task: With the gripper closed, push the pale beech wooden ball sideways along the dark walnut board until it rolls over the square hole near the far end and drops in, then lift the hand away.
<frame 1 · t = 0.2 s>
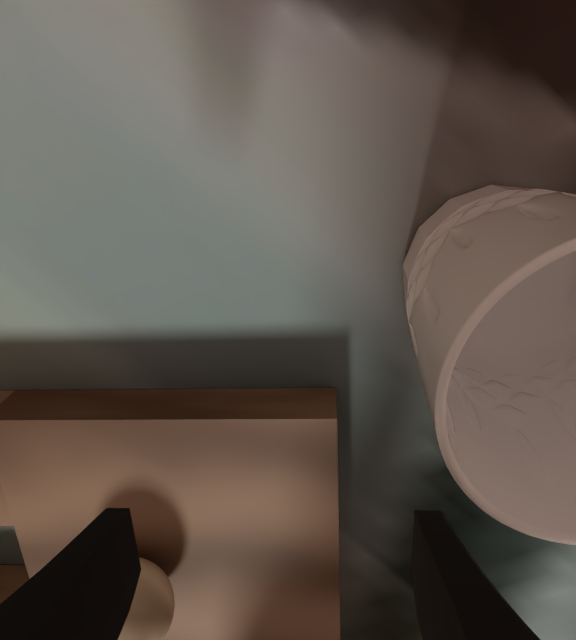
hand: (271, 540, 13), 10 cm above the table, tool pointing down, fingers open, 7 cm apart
white cup: (487, 270, 21), on the table
ball: (126, 608, 22), point 4 cm above the table, touching board
board: (118, 529, 27), on the table
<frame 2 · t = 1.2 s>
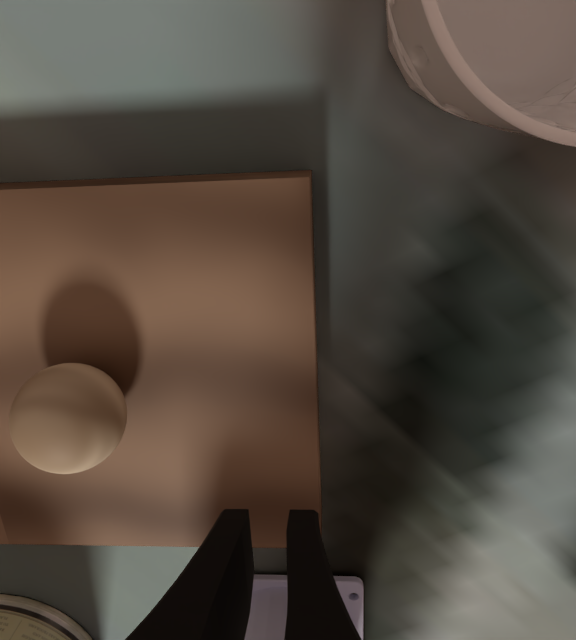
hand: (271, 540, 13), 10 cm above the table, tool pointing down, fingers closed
white cup: (483, 9, 18), on the table
ball: (70, 417, 19), point 4 cm above the table, touching board
board: (72, 364, 24), on the table
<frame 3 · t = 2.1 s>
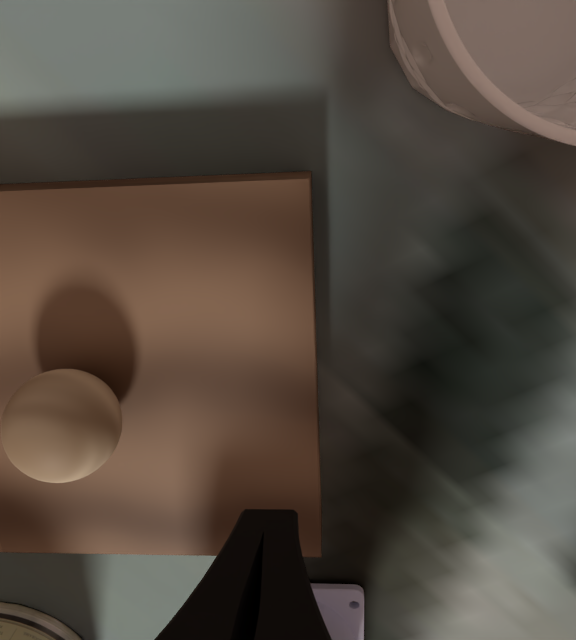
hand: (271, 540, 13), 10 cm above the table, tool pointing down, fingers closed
white cup: (487, 6, 17), on the table
ball: (64, 424, 19), point 4 cm above the table, touching board
board: (67, 369, 23), on the table
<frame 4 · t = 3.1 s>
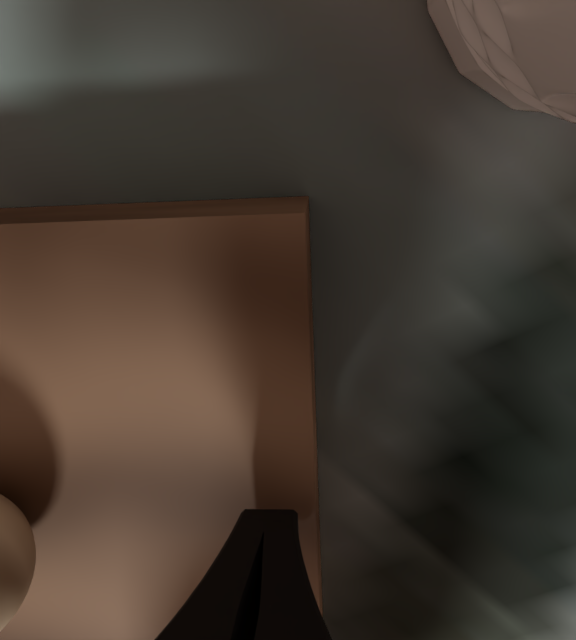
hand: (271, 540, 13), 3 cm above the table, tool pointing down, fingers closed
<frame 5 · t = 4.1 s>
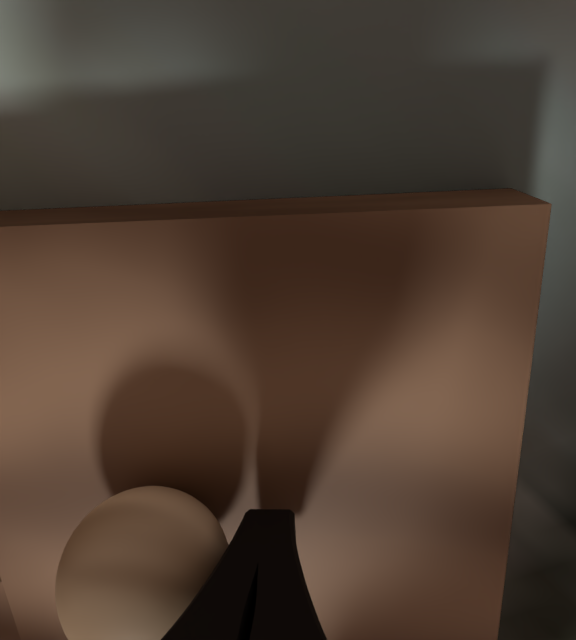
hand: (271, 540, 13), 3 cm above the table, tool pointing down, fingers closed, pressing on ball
ball: (147, 574, 13), point 4 cm above the table, touching board, gripper
board: (131, 459, 17), on the table
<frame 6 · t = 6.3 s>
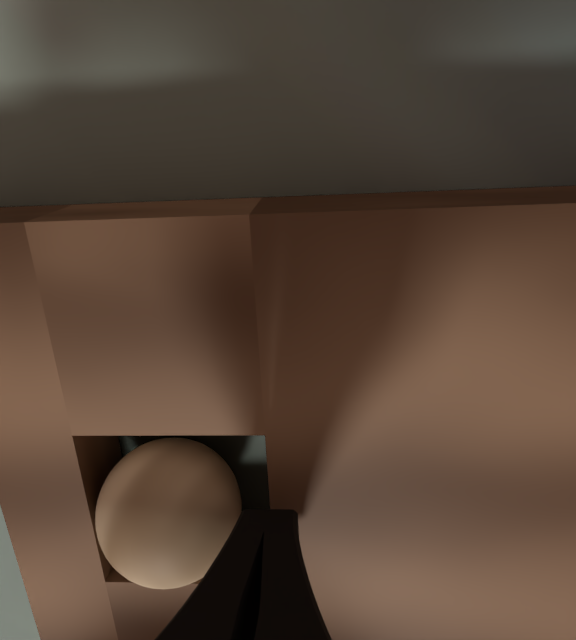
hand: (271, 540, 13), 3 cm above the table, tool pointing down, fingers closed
ball: (170, 509, 15), point 2 cm above the table, tilted 64°
board: (392, 458, 16), on the table
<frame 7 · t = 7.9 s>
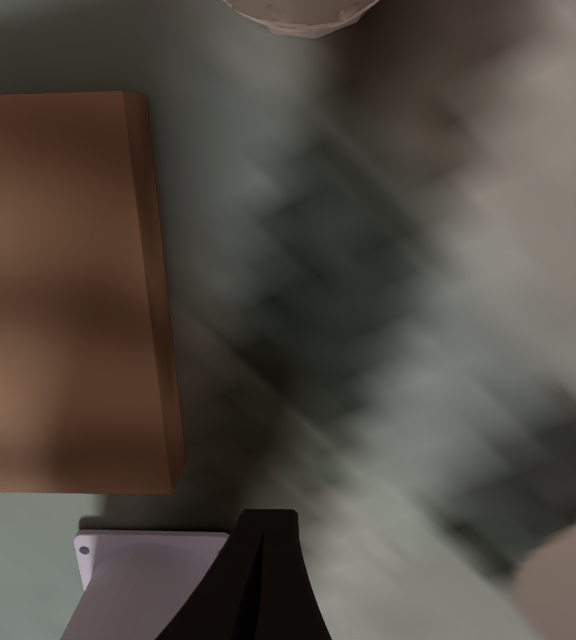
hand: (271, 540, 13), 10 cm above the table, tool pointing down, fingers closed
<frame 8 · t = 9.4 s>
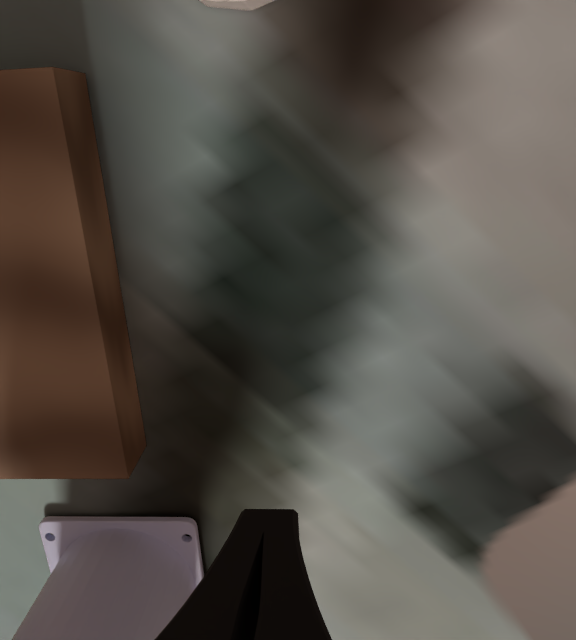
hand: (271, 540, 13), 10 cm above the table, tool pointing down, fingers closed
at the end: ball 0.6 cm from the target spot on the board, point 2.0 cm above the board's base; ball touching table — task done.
